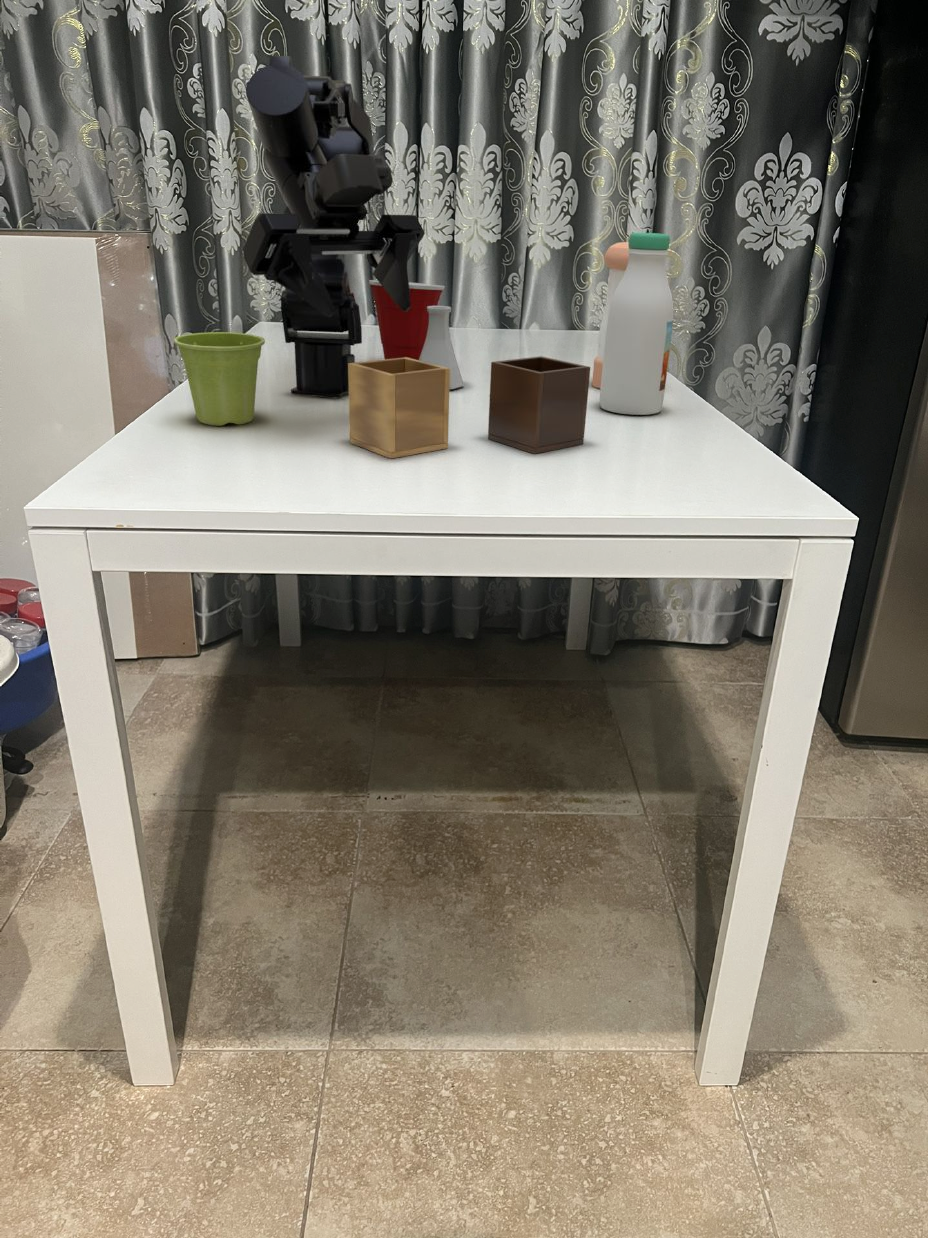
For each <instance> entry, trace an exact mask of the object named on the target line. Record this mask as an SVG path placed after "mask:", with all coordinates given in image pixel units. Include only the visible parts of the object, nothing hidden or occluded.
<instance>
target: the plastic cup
mask: <svg viewBox="0 0 928 1238" xmlns="http://www.w3.org/2000/svg"><path fill="white" fill-rule="evenodd" d="M408 282H409V291H410V300H411V306H410V308H409V310H408V311H407V312H404V311H402V309H401V308H400V307H399V306H398V305H397V304H396V303H395V302H394V301H393V299H392V298H391V297H390V295H389V294H388V293H387V292H386V290H385V289H384V288H383V286H382V285H381V284H380V283H379V281H378V280H377V279H369V280H368V284H369V285H370V287H371V290H372V296H373V300H374V305H375V309H376V310H375V311H376V317H377V324H378V329H379V330H378V331H379V336H380V344H381V345H382V353H383V357H384V359H383V360H385V359H394V358H403V357H407V358H411V359H415V360H419V358H420V355H421V352H422V349H423V346H424V343H425V340H426V336H427V331H428V325H429V313H428V311H427V307H428V306H439V301H440V298H441V295H442V293H443V291H444V290H445V285H441V284H433V283H432V284H431V283H421V282H410V281H408Z"/></svg>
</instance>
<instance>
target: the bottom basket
mask: <svg viewBox="0 0 928 1238" xmlns="http://www.w3.org/2000/svg"><path fill="white" fill-rule="evenodd" d="M590 375H591V366H588V365H584V364H579V363H573V362H569V361H565V360H561V359H556V358H551V357H547V356H543V355H539V356H533V357H530V356H529V357H523V358H522V357H521V358H514V359H513V358H512V359H504V360H495V361H491V363H490V380H489V381H490V382H489V403H488V405H489V407H488V425H487V440H490V441H494V442H497V443H499V444H503V445H506V446H508V447H512V448H514V449H518V450H521V451H524V452H527V453H531V454H533V455H536V454H540V453H546V452H551V451H557V450H561V449H565V448H571V447H576V446H581V445H583V444H584V441H585V439H584V438H585V433H586V432H585V430H586V419H587V408H588V397H589V387H590V385H589V384H590Z"/></svg>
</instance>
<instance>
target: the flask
mask: <svg viewBox="0 0 928 1238" xmlns="http://www.w3.org/2000/svg"><path fill="white" fill-rule="evenodd" d="M427 311H428V313H429V325H428V331H427V336H426V340H425V343H424V346H423V349H422V352H421V355H420V358H419V361H423V362H427V363H431V364H435V365H439V366H443V367H447V368H450V386H449V390H455V389H458V388H461V387H464V386H465V384H464V380H463V378H462V374H461V370H460V367H459V363H458V360H457V357H456V353H455V349H454V346H453V343H452V339H451V332H450V331H451V330H450V313H451V312H452V307H451V306H445V305H438V306H428V307H427Z"/></svg>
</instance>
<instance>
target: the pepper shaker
mask: <svg viewBox="0 0 928 1238" xmlns="http://www.w3.org/2000/svg"><path fill="white" fill-rule="evenodd" d="M628 244H629V236H628V237H627V241H625V242H624V241H620V242H616V243H614V244H612V245H610V246H609V248H608V249H607V250H606V251H605V254H604V263H605V265H606V267H608V268H609V273H608V282H607V290H606V301H605V306H604V310H603V314H602V319H601V323H600V325H599V330H598V342H597V344H598V345H597V356H596V357H595V358H594V359H593V369H592V370H593V371H592V377H591V385H592V387H594V388H597V389H601V379H602V369H603V359H604V349H605V339H606V330H607V322H608V315H609V309H610V304H611V301H612V298H613V295H614V293H615V291H616V289H617V287H618V285H619V283H620V282H621V280H622V278H623V276H624V273H625V271H626V268H627V265H628V262H629V253H628V250H629V246H628Z"/></svg>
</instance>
